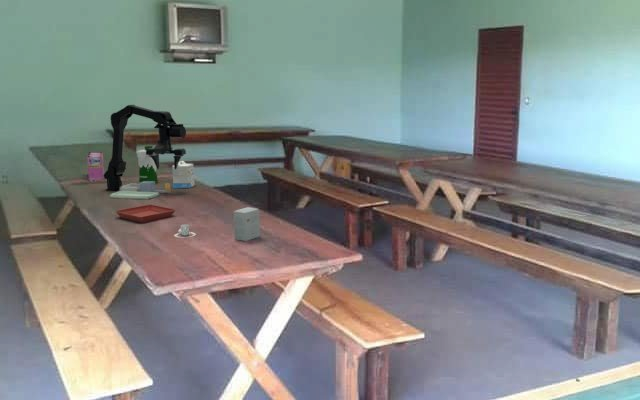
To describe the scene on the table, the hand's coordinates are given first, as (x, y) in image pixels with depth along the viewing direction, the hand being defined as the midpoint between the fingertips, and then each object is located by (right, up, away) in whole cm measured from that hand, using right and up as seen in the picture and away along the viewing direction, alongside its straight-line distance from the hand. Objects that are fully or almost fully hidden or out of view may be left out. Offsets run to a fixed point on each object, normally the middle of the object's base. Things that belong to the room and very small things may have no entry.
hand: (166, 169), depth 314 cm
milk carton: (-17, -7, +28) cm, 33 cm away
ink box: (+5, -9, +18) cm, 21 cm away
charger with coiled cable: (+28, -28, -76) cm, 86 cm away
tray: (-14, -14, -7) cm, 21 cm away
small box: (+49, -29, -84) cm, 101 cm away
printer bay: (-18, -11, +7) cm, 22 cm away
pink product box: (-52, -3, +49) cm, 71 cm away
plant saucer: (+3, -23, -49) cm, 54 cm away
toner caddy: (-6, -11, +4) cm, 14 cm away
